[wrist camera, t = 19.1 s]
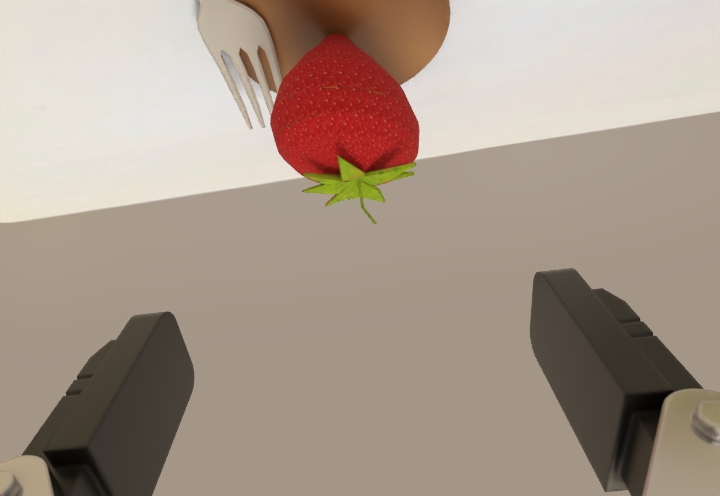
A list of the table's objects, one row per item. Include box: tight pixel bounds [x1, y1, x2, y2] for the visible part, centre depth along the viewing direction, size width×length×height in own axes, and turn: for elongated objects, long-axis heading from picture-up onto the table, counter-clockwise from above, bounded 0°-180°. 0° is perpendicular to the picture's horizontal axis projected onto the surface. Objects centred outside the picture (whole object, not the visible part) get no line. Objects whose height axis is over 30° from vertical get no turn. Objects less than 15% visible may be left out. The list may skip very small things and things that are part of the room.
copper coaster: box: [235, 0, 450, 93], centre depth 23 cm, size 11×11×1 cm
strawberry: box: [270, 34, 419, 224], centre depth 22 cm, size 6×8×10 cm
